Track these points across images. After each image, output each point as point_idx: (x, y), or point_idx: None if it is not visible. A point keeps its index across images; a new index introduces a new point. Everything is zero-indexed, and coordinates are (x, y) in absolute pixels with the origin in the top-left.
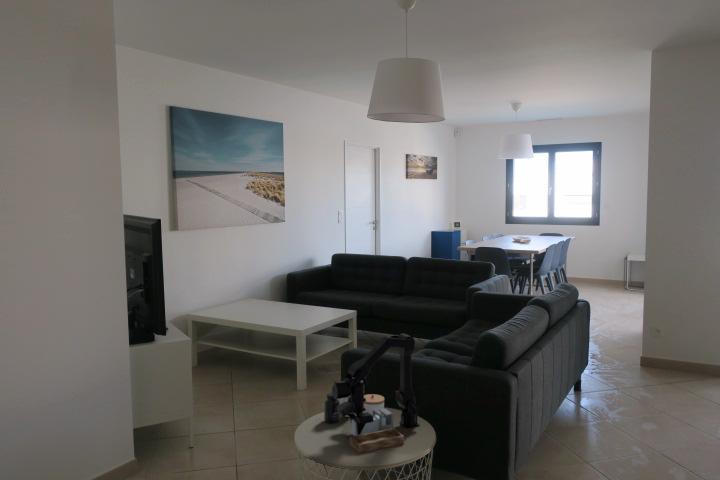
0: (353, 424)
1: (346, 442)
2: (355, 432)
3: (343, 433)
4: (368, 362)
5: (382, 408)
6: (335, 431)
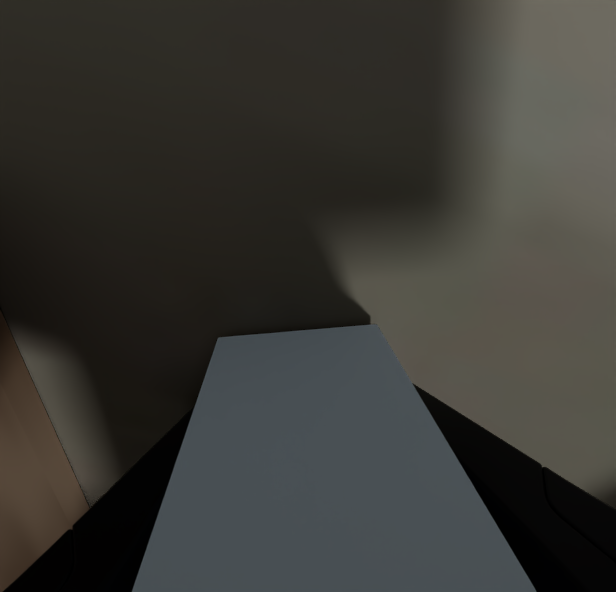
0: (321, 495)
1: (37, 109)
2: (201, 387)
3: (451, 205)
4: None
5: None
6: (609, 85)
